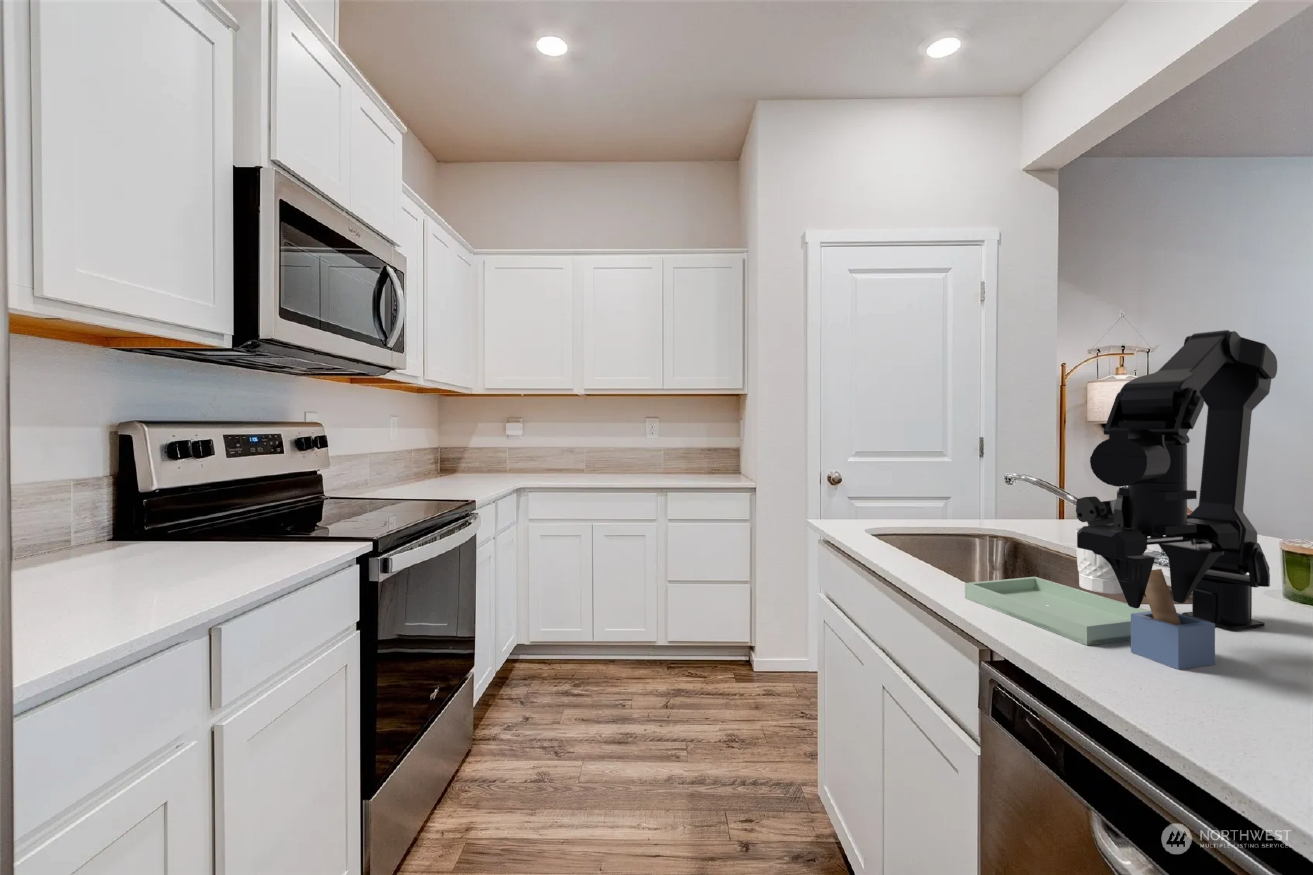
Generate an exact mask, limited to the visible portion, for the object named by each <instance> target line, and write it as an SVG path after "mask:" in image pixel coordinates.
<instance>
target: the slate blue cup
mask: <svg viewBox="0 0 1313 875" xmlns="http://www.w3.org/2000/svg"><path fill="white" fill-rule="evenodd" d="M1177 615H1178V617H1179V620H1180V623H1181V625H1174V624H1171V623H1167V622H1164V621H1161V620H1157V619H1154V618H1153V615H1152V612H1151V610H1150V611H1149V612H1140V613H1131V640H1130V652H1131V653H1132V654H1135V655H1137V656H1140V657H1144V658H1146V659H1149V660H1152V661H1155V662H1157V663H1160V664H1162V665H1165V666H1168V667H1170V668H1173V669H1176V670H1183V669H1184V670H1185V669H1190V668H1192V667H1193V668H1198V667H1205V666H1212V665H1213V666H1214V665H1216V626H1215V623H1211V622H1208V621H1204V620H1201V619H1197V618H1194V617H1190V616H1187V615H1183V614H1182V613H1179V612H1177Z"/></svg>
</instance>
